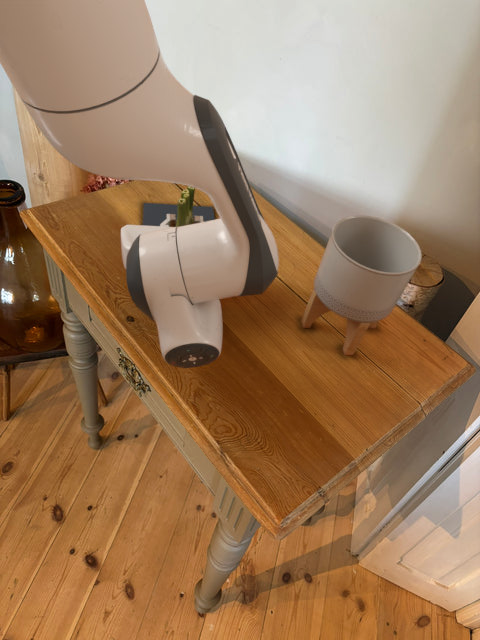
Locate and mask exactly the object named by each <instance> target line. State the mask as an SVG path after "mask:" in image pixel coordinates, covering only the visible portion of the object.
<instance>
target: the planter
mask: <svg viewBox="0 0 480 640" xmlns="http://www.w3.org/2000/svg"><path fill="white" fill-rule="evenodd" d="M421 261H422V250H421V247H420V245H419V243H418V242H417V240H416V239H415V238H414V237H413V236H412V235H411V234H410V233H409V232H408V231H407V230H405V229H404V228H403V227H401V226H400V225H397V224H395V223H393V222H392V221H389V220H386V219H384V218H380V217H377V216H373V215H367V214H366V215H364V214H355V215H349V216H346V217H343V218H341V219H340V220H338V221H337V222H336V223H334V226H333V228H332V230H331V233H330V236H329V238H328V241H327V243H326V247H325V249H324V252H323V255H322V257H321V260H320V263H319V266H318V268H317V271H316V273H315V277H314V279H313V288H312V291H311V293H310V296H309V299H308V302H307V305H306V307H305V310H304V312H303V315H302V318H301V320H300V322H301V326H302V328H307V329H310V328H311V327H312V325H313V323H314V322H315V321H316V320H317V319H319V318H320V317H321V316H323V315H325V314H327V313H329V312H333V313H334V314H336V315H338V316H339V317H341V318H344V319H346V335H345V339H344V344H343V347H342V352H343V355H344V356H354V355H355V352H356V350H357V349H358V347H359V345H360V343H361V341H362V340H363V338H364V335H365V334H366V332H367V330H368V329H376V327H378V324H379V322H380V321H382V320H384V319H385V318H388V317H389V315H390V314H391V313H392V312H393V310H394V309H395V307H396V306H397V303H398V301H399V300H400V298H401V296H402V294H403V293H404V291H405V290H406V288H407V287H408V284H409V283H410V281H411V279H412V277H413V276H414V274H415V272H416V271H417V269H418V267H419V266H420V264H421Z"/></svg>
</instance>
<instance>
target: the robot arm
mask: <svg viewBox="0 0 480 640" xmlns="http://www.w3.org/2000/svg"><path fill="white" fill-rule="evenodd" d="M148 9H149V8H148V7H147V4H146V1H145V0H0V65H1V67H2V68H3V70H4V72H5V74H6V75H7V77H8V80H9V81H10V82H11V84H12V87H13V88H14V90H15V91H16V93H17V95H18V96H19V98H20V100H21V102H22V103H23V106H24V107H25V109H26V110H27V112H28V114H29V115H30V117H31V118H32V120H33V122H34V123H35V125H36V127H37V128H38V129H39V131H40V132H41V134H42V135H43V137H44V138H45V139H46V140H47V142H48V143H49V144H50V146H52V148H54V149H55V151H57V153H59V155H61V156H62V157H63V158H64V159H65V160H66V161H68V162H69V163H70V164H72V165H74V166H75V167H78V168H79V169H81V170H83V171H85V172H88V173H91V174H92V175H93V174H94V175H96V176H98V177H99V176H100V177H104V178H108V179H113V180H120V181H121V180H122V181H148V182H160V183H161V182H162V183H170V184H176V185H182V186H187V187H188V186H190V187H194V188H195V190H196V189H197V190H198V191H201V192H203V193H204V194H206V196H207V197H208V198H209V199H210V201H211V203H212V205H213V208H214V209H215V211H216V212H217V215H218V216H219V218H215V220H211V221H206V222H204V221H203V216H194V221H193V224H190V225H185V226H180V227H175V223H176V214H167V219H166V220H165V221H164V222H162V223H161V224H160V226H144V225H143V224H142V225H141V224H126V225H124V226H122V227H121V228H120V248H121V259H122V263H123V267H124V269H125V277H126V285H127V290H128V293H129V296H130V298H131V300H132V302H133V304H134V306H136V308H137V309H138V310H139V311H140V312H142V314H144V315H145V317H147V318H148V319H149V320H151V321H152V322H155V324H156V329H157V335H158V342H159V347H160V348H159V349H160V352H161V356H162V358H163V360H164V362H165V363H166V364H167V365H169V366H172V367H175V368H180V369H191V368H199V367H203V366H207V365H209V364H211V363H214V362H215V361H216V360H217V359H218V358H219V357H220V355H221V353H222V350H223V349H222V348H223V336H224V335H223V332H224V324H223V323H224V322H223V311H222V310H223V309H222V304H221V301H220V300H222V299H228V298H233V297H238V298H239V297H247V296H255V295H256V296H257V295H263V294H264V292H266V291H267V289H268V288H269V287H270V286H271V285H272V283H273V282H274V280H276V278H277V276H278V275H279V272H278V271H279V267H280V256H279V249H278V246H277V242H276V238H275V236H274V234H273V232H272V230H271V229H270V227H269V225H268V224H267V222H266V220H265V218H264V216H263V214H262V212H261V210H260V208H259V205H258V202H257V200H256V198H255V195H254V192H253V190H252V188H251V185H250V183H249V180H248V177H247V175H246V173H245V170H244V167H243V165H242V162H241V160H240V159H241V158H240V157H239V155H238V152H237V149H236V148H235V145H234V142H233V140H232V138H231V135H230V133H229V132H228V128H227V127H226V125H225V122H224V120H223V119H222V117H221V115H220V113H219V112H218V110H217V109H216V107H215V105H214V104H213V103H212V102H211V100H209V99H207V98H205V97H202V96H199V95H197V94H193V93H191V91H189V90H188V89H187V88H185V87H184V85H183V84H182V83H180V81H179V80H178V79H177V78H176V76H174V74H173V73H172V71H171V70H170V68H169V67H168V65H167V63H166V61H165V59H164V57H163V54H162V52H161V48H160V46H159V41H158V39H157V35H156V32H155V29H154V25H153V20H152V17H151V16H150V13H149V10H148Z"/></svg>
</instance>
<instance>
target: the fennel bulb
mask: <svg viewBox="0 0 480 640" xmlns="http://www.w3.org/2000/svg"><path fill="white" fill-rule="evenodd" d="M195 192H196V188H194V187H190V186H187V187H186V189H183V190H182V191H181V192H180V198H178V200H177V204H176V205H178V208H177V221H176V223H175V227H180V226H185V225H190V224H193V215H192V212H193V206H194V202H195V201H194V200H195Z"/></svg>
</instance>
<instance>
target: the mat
mask: <svg viewBox="0 0 480 640" xmlns="http://www.w3.org/2000/svg"><path fill="white" fill-rule="evenodd" d="M142 208H143V210H142V213H143V215H142V225H144V226H160V224H161V223H162V222H164V221H165V220H166V219H167V214H176V221H177V208H178V204H171V203H151V202H143V207H142ZM192 215H193V221H194V216H203V221H204V222H206V221H211V220H215V219H216V218H215V211H214V206H202V205H193V212H192Z"/></svg>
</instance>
